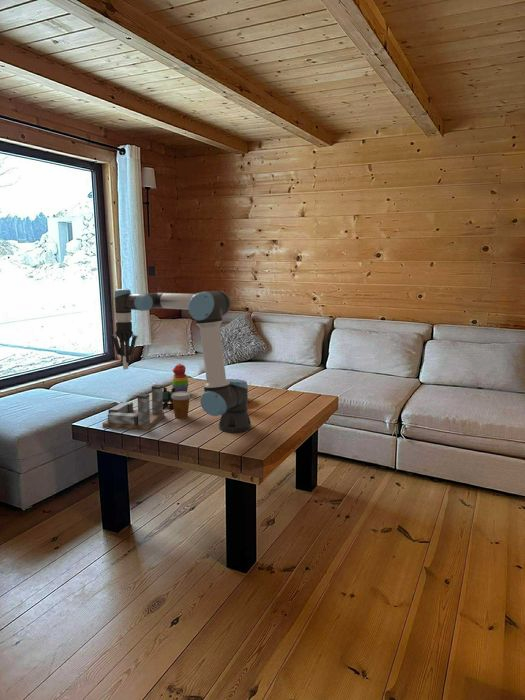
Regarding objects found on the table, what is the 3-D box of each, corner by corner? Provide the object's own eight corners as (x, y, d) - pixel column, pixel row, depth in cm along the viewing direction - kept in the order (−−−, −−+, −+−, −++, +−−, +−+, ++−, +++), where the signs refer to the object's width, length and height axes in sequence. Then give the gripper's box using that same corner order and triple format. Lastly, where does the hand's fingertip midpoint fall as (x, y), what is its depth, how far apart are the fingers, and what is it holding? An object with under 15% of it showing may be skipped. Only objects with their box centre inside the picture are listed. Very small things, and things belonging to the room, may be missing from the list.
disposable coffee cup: (194, 416, 243) (194, 393, 241) (178, 421, 236) (178, 397, 234) (183, 412, 250) (183, 390, 247) (167, 416, 243) (167, 393, 241)
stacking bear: (171, 391, 288) (170, 362, 285) (188, 391, 290) (187, 362, 286) (171, 396, 277) (170, 366, 274) (188, 396, 279) (188, 366, 276)
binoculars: (156, 392, 250) (162, 385, 260) (157, 411, 253) (163, 404, 263) (173, 393, 249) (178, 386, 259) (174, 412, 252) (179, 404, 262)
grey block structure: (164, 415, 244) (163, 384, 241) (147, 430, 223) (146, 396, 220) (122, 412, 247) (120, 382, 244) (101, 427, 226) (99, 393, 223)
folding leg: (129, 403, 243) (116, 410, 229) (129, 411, 244) (116, 418, 230) (121, 402, 244) (108, 409, 230) (121, 410, 244) (108, 418, 230)
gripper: (139, 320, 237) (141, 367, 241) (114, 320, 239) (116, 366, 243) (133, 322, 229) (135, 371, 234) (107, 321, 231) (109, 369, 235)
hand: (125, 368), depth 238 cm, fingers closed
